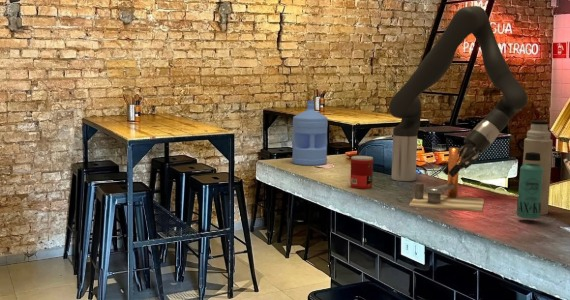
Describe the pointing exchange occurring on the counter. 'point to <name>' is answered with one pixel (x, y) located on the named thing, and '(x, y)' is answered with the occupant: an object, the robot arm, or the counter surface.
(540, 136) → the thermos bottle
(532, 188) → the beverage bottle
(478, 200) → the hub board
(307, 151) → the water jug
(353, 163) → the canned food
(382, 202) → the counter surface
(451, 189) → the lever
